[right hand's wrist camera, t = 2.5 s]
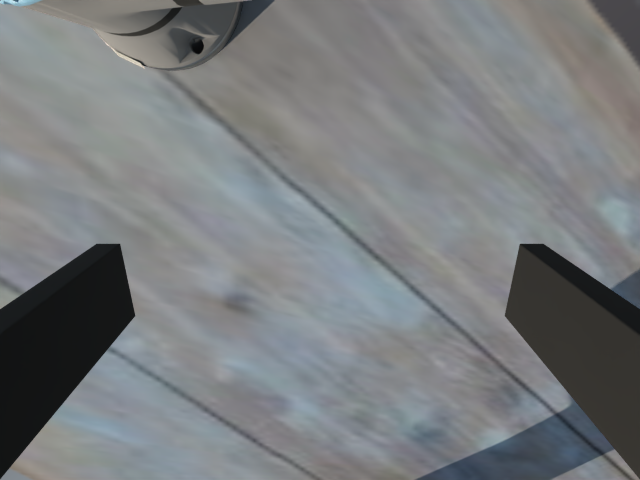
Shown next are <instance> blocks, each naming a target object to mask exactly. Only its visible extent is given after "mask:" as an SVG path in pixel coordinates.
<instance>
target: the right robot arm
mask: <svg viewBox="0 0 640 480" xmlns="http://www.w3.org/2000/svg"><path fill="white" fill-rule="evenodd" d="M243 1H250V0H0V3H2V4H13V5H15V6H21V7H24V8H28V9H31V10H34V11H38V12H41V13H44V14H47V15H51V16H54V17H57V18H61V19H64V20H67V21H70V22H74V23H77V24H80V25H83V26H87V27H90V28H92V29H93V30H94V31H95V32H96V33H97V34H98V36H99V37H100V38H101V39H102V40H103V41H104V42H105V43H106V44H107V45H108V46H110V47H111V48H112V49H113V51H114V50H115V51H114V52H115V53H116V54H117V55H118V56H119V57H122V58H124V59H126V60H128V61H130V62H132V63H134V64H136V65H138V66H140V67H142V68H144V67H143V66H147V67H151V68H156V69H161V70H185V69H189V68H193V67H196V66H198V65H201V64H203V63H205V62H206V61H208V60H210V59H211V58H212V57H214V56H215V55H216V54H217V53H218V52H219V51H220V50H222V48H223V47H224V46H225V45H226V44H227V42H228V41H229V39H230V38H231V36H232V34H233V32H234V30H235V28H236V26H237V24H238V21H239V18H240V14H241V10H242V5H243ZM142 65H143V66H142ZM144 69H145V68H144ZM134 317H135V313H134V308H133V303H132V298H131V294H130V289H129V284H128V279H127V275H126V270H125V265H124V260H123V256H122V251H121V246H120V244H96V245H94V246H93V247H91V248H90V249H88V250H87V251H86V252H84V253H83V254H81V255H80V256H78V257H77V258H75V259H74V260H72V261H71V262H69V263H68V264H66V265H65V266H63V267H62V268H60V269H59V270H57V271H56V272H55V273H53V274H52V275H50V276H49V277H47V278H46V279H44V280H43V281H41V282H40V283H38V284H37V285H35V286H34V287H32V288H31V289H29V290H28V291H27V292H25V293H24V294H22V295H21V296H19V297H18V298H16V299H15V300H13V301H12V302H10V303H9V304H7V305H6V306H4V307H3V308H1V309H0V479H1V477H2V476H3V475H4V474H5V473H6V471H7V470H8V469H9V468H10V467H11V465H12V464H13V463H14V462H15V461H16V459H17V458H18V457H19V456H20V455H21V453H22V452H23V451H24V450H25V448H26V447H27V446H28V445H29V444H30V442H31V441H32V440H33V439H34V438H35V436H36V435H37V434H38V433H39V432H40V430H41V429H42V428H43V427H44V426H45V424H46V423H47V422H48V421H49V419H50V418H51V417H52V416H53V415H54V413H55V412H56V411H57V410H58V409H59V407H60V406H61V405H62V404H63V403H64V401H65V400H66V399H67V398H68V396H69V395H70V394H71V393H72V392H73V390H74V389H75V388H76V387H77V386H78V384H79V383H80V382H81V381H82V380H83V378H84V377H85V376H86V375H87V374H88V372H89V371H90V370H91V369H92V367H93V366H94V365H95V364H96V363H97V361H98V360H99V359H100V358H101V357H102V355H103V354H104V353H105V352H106V351H107V349H108V348H109V347H110V346H111V345H112V343H113V342H114V341H115V340H116V338H117V337H118V336H119V335H120V334H121V332H122V331H123V330H124V329H125V328H126V326H127V325H128V324H129V323H130V322H131V320H132V319H133V318H134ZM505 317H506V318H507V319H508V320H509V322H510V323H511V324H512V325H513V326H514V328H515V329H516V330H517V331H518V332H519V334H520V335H521V336H522V337H523V338H524V340H525V341H526V342H527V343H528V345H529V346H530V347H531V348H532V349H533V351H534V352H535V353H536V354H537V355H538V357H539V358H540V359H541V360H542V361H543V363H544V364H545V365H546V366H547V367H548V369H549V370H550V371H551V372H552V374H553V375H554V376H555V377H556V378H557V380H558V381H559V382H560V383H561V384H562V386H563V387H564V388H565V389H566V390H567V392H568V393H569V394H570V395H571V396H572V398H573V399H574V400H575V401H576V403H577V404H578V405H579V406H580V407H581V409H582V410H583V411H584V412H585V413H586V415H587V416H588V417H589V418H590V419H591V421H592V422H593V423H594V424H595V426H596V427H597V428H598V429H599V430H600V432H601V433H602V434H603V435H604V436H605V438H606V439H607V440H608V441H609V442H610V444H611V445H612V446H613V447H614V448H615V450H616V451H617V452H618V453H619V455H620V456H621V457H622V458H623V459H624V461H625V462H626V463H627V464H628V465H629V467H630V468H631V469H632V470H633V471H634V473H635V474H636V475H637V476H638V477H639V479H640V309H639V308H637V307H636V306H634V305H633V304H631V303H630V302H628V301H627V300H625V299H624V298H622V297H621V296H619V295H618V294H616V293H615V292H613V291H612V290H611V289H609V288H608V287H606V286H605V285H603V284H602V283H600V282H599V281H597V280H596V279H594V278H593V277H591V276H590V275H588V274H587V273H585V272H584V271H583V270H581V269H580V268H578V267H577V266H575V265H574V264H572V263H571V262H569V261H568V260H566V259H565V258H563V257H562V256H560V255H559V254H557V253H556V252H554V251H553V250H552V249H550V248H549V247H547V246H546V245H544V244H520V246H519V251H518V256H517V260H516V265H515V270H514V275H513V279H512V284H511V289H510V294H509V298H508V303H507V308H506V313H505Z"/></svg>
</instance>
